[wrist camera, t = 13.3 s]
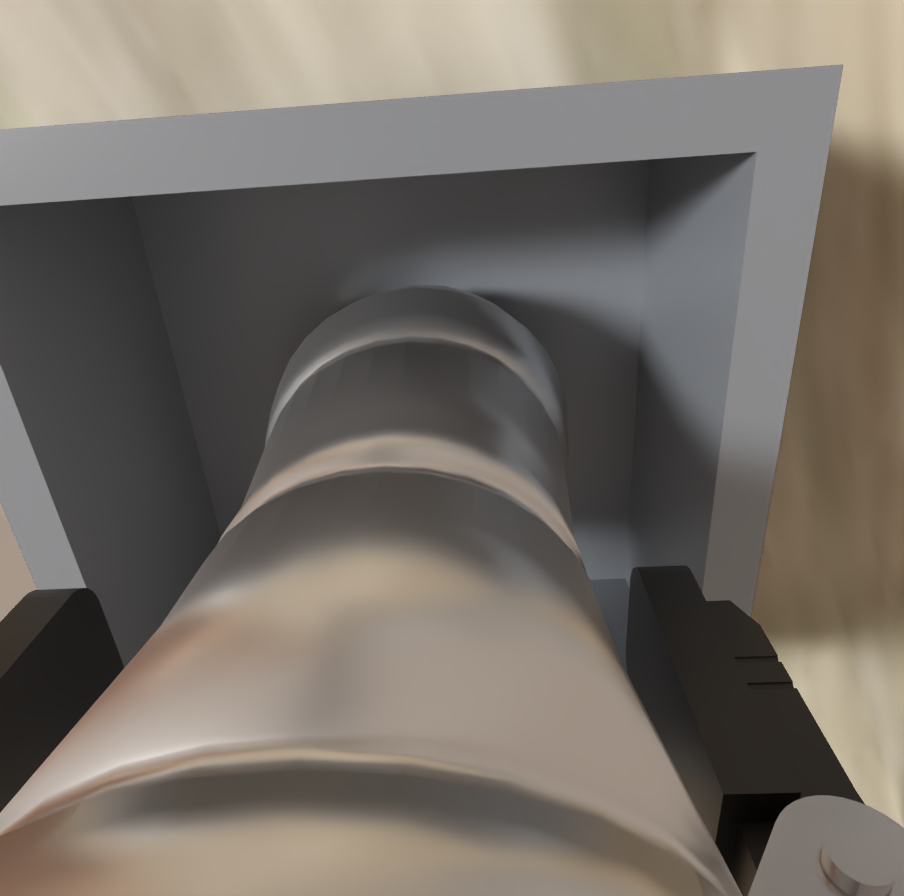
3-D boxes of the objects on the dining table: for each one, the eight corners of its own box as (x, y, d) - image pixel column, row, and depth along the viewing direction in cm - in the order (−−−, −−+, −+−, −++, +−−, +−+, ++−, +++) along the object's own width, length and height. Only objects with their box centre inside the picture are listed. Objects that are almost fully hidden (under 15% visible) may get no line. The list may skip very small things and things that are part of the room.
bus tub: (93, 134, 16) (-154, 141, 10) (687, 88, 15) (843, 64, 9) (222, 599, 22) (123, 790, 16) (648, 583, 21) (724, 775, 15)
